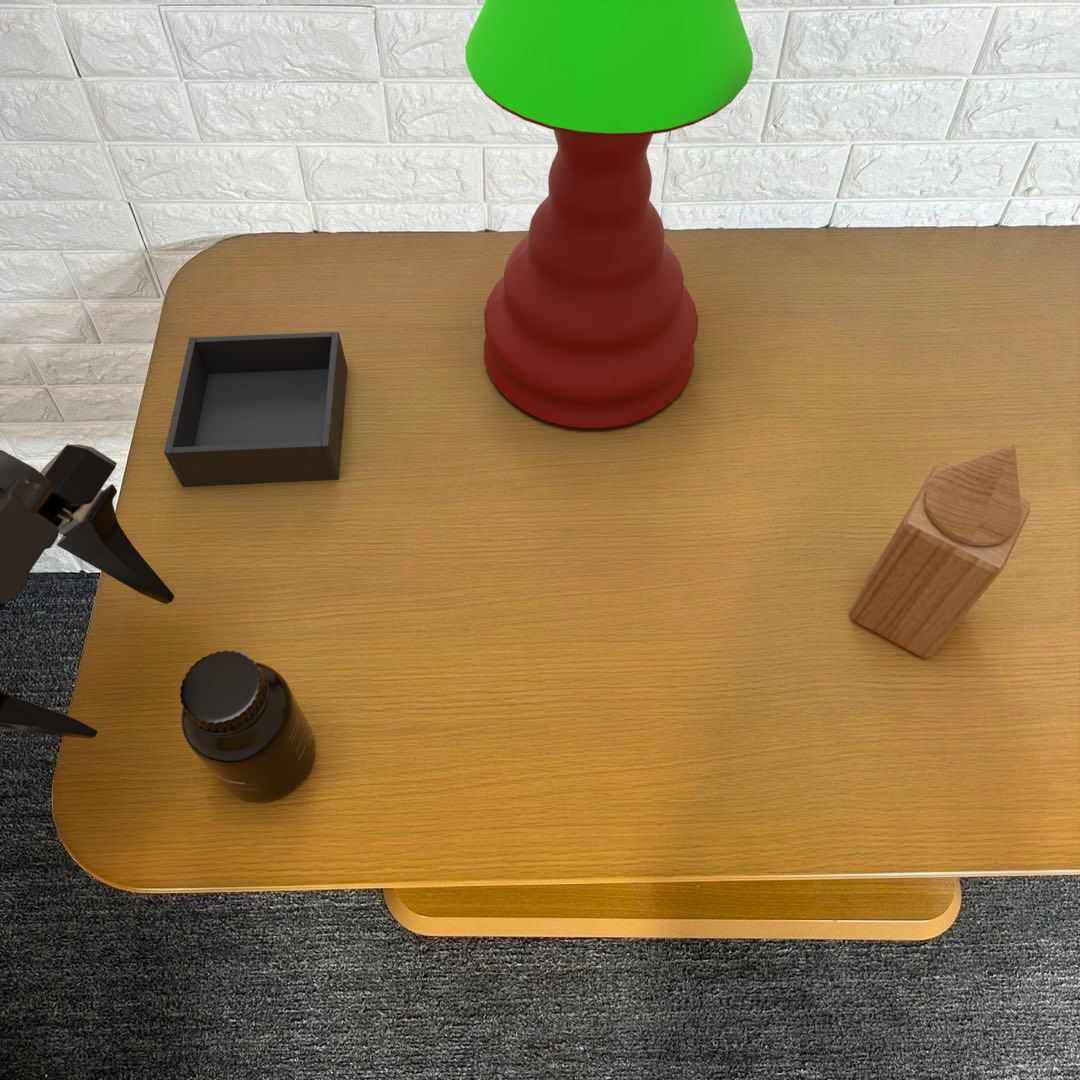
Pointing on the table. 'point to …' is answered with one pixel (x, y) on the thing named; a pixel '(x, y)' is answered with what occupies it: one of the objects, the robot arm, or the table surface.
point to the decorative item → (944, 552)
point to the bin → (259, 409)
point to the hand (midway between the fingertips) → (134, 664)
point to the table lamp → (600, 197)
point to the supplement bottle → (246, 726)
